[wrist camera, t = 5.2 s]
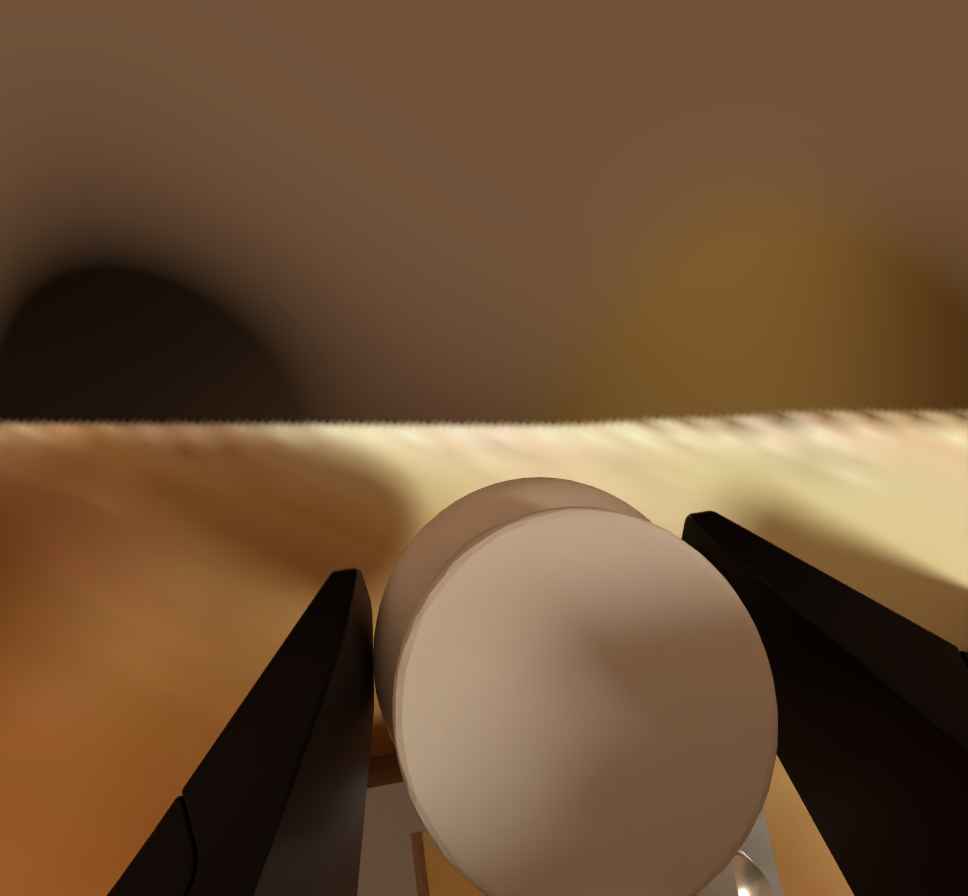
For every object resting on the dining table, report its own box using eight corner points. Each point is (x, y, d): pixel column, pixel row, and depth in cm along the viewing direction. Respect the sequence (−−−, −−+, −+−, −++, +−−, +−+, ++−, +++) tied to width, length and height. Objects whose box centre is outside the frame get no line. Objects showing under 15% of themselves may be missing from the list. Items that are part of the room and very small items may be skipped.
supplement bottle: (628, 562, 15) (923, 589, 5) (547, 736, 14) (732, 1158, 4) (470, 476, 15) (483, 356, 6) (379, 640, 14) (205, 834, 5)
